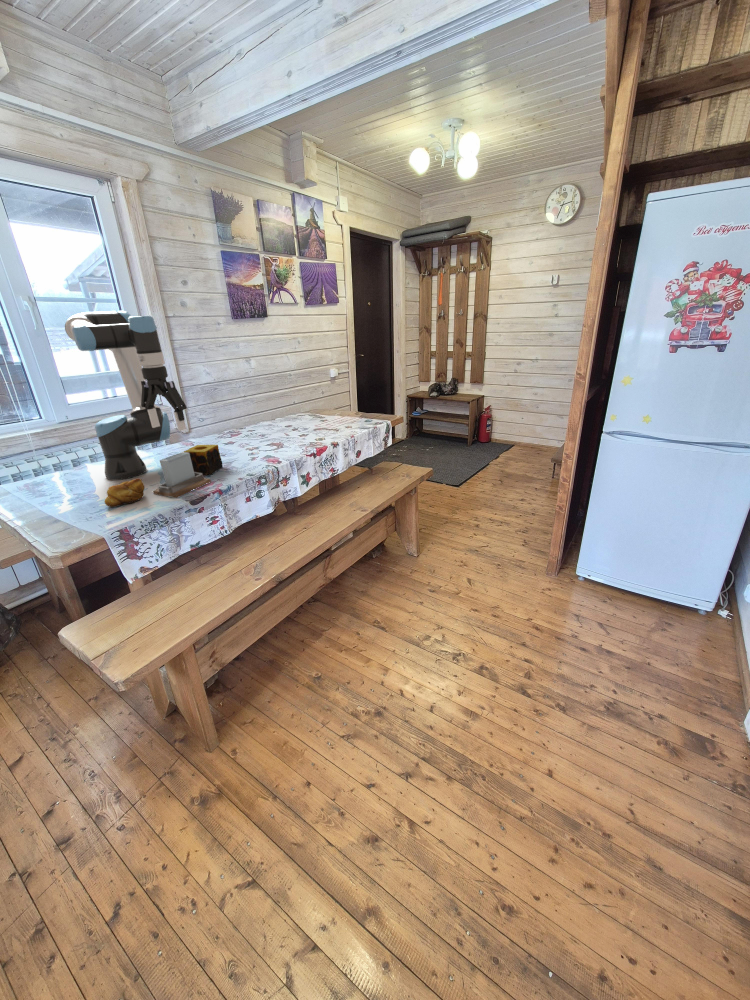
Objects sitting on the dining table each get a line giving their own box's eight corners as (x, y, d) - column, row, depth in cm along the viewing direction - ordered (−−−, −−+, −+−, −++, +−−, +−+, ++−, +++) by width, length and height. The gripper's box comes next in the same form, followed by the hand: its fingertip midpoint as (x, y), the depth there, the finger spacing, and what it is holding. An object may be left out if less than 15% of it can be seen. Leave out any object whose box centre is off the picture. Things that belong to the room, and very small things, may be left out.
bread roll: (110, 511, 139) (102, 489, 136) (101, 504, 145) (94, 483, 142) (150, 499, 147) (144, 477, 144) (140, 492, 153) (134, 472, 150)
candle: (210, 475, 166) (205, 451, 162) (188, 475, 168) (182, 451, 164) (223, 467, 175) (218, 444, 171) (202, 467, 177) (197, 444, 173)
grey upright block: (167, 489, 152) (159, 460, 147) (189, 479, 160) (182, 451, 155) (174, 490, 150) (166, 461, 145) (196, 480, 158) (189, 452, 154)
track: (153, 493, 151) (151, 485, 150) (188, 478, 164) (186, 470, 163) (176, 497, 146) (174, 489, 145) (211, 481, 159) (209, 474, 158)
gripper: (118, 367, 142) (136, 428, 151) (169, 368, 131) (185, 433, 140) (138, 364, 148) (154, 423, 157) (188, 365, 137) (202, 428, 146)
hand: (169, 428), depth 148 cm, fingers open, 13 cm apart
